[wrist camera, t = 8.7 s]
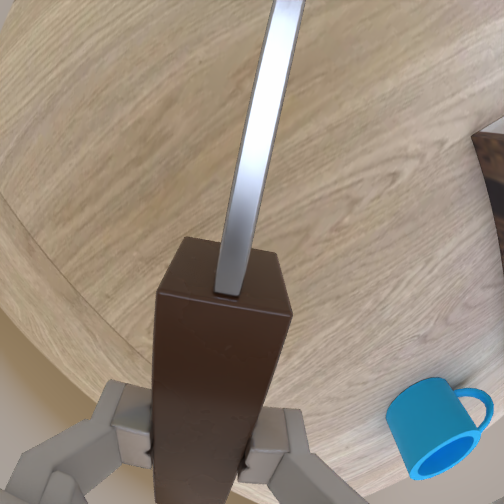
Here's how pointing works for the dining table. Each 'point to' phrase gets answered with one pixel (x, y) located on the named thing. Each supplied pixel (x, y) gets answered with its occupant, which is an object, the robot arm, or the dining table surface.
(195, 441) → the butter knife
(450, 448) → the mug
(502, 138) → the book
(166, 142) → the dining table surface
